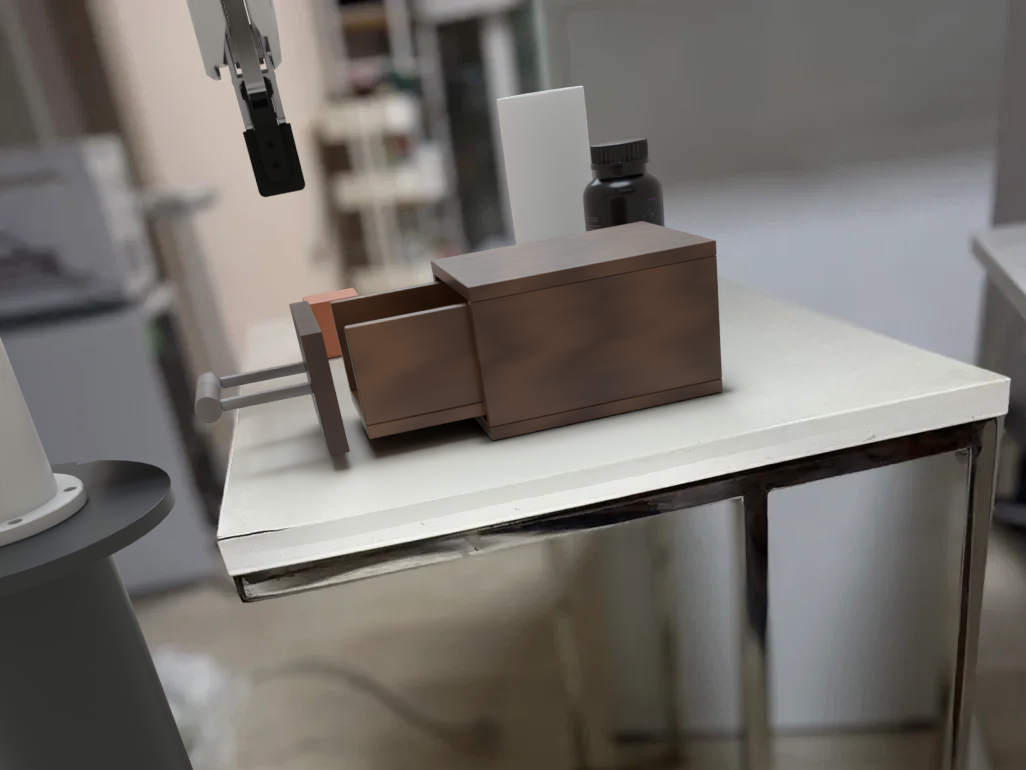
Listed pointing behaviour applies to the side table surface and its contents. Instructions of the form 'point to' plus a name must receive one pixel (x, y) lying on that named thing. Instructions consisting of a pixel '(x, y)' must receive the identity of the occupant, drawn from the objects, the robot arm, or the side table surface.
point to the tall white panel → (546, 161)
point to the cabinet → (590, 324)
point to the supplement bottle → (622, 186)
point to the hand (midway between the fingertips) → (283, 192)
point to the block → (328, 317)
